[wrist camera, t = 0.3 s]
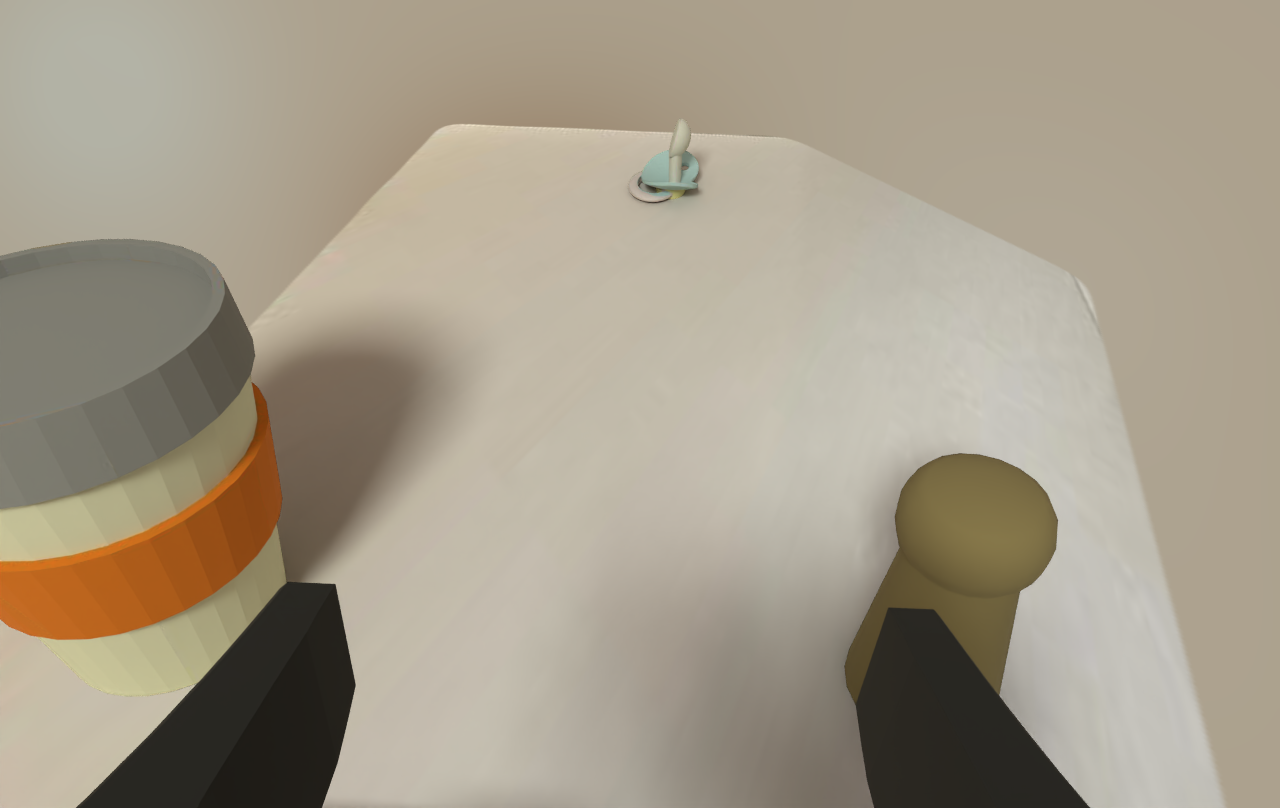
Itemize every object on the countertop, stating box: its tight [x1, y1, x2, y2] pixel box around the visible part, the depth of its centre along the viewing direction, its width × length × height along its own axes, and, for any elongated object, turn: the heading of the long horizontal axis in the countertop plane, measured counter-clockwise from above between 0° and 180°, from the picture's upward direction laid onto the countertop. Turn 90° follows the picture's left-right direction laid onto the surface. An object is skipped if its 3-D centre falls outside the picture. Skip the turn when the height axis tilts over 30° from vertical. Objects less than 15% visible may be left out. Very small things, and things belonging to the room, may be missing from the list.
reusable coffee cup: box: [0, 239, 287, 696], centre depth 33 cm, size 13×13×15 cm
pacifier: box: [628, 118, 699, 202], centre depth 71 cm, size 7×6×6 cm
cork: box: [845, 453, 1058, 705], centre depth 32 cm, size 6×6×11 cm
